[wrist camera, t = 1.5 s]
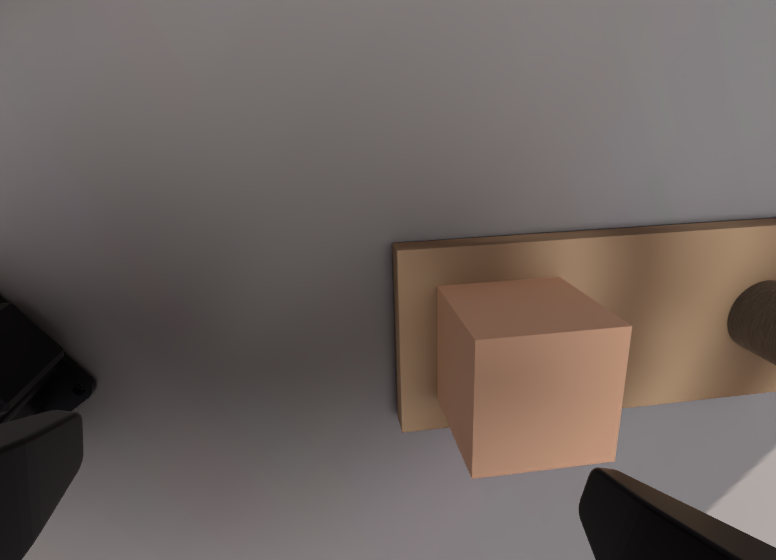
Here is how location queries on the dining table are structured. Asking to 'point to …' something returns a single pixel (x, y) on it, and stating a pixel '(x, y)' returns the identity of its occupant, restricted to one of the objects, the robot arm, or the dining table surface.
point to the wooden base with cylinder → (613, 304)
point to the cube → (529, 375)
